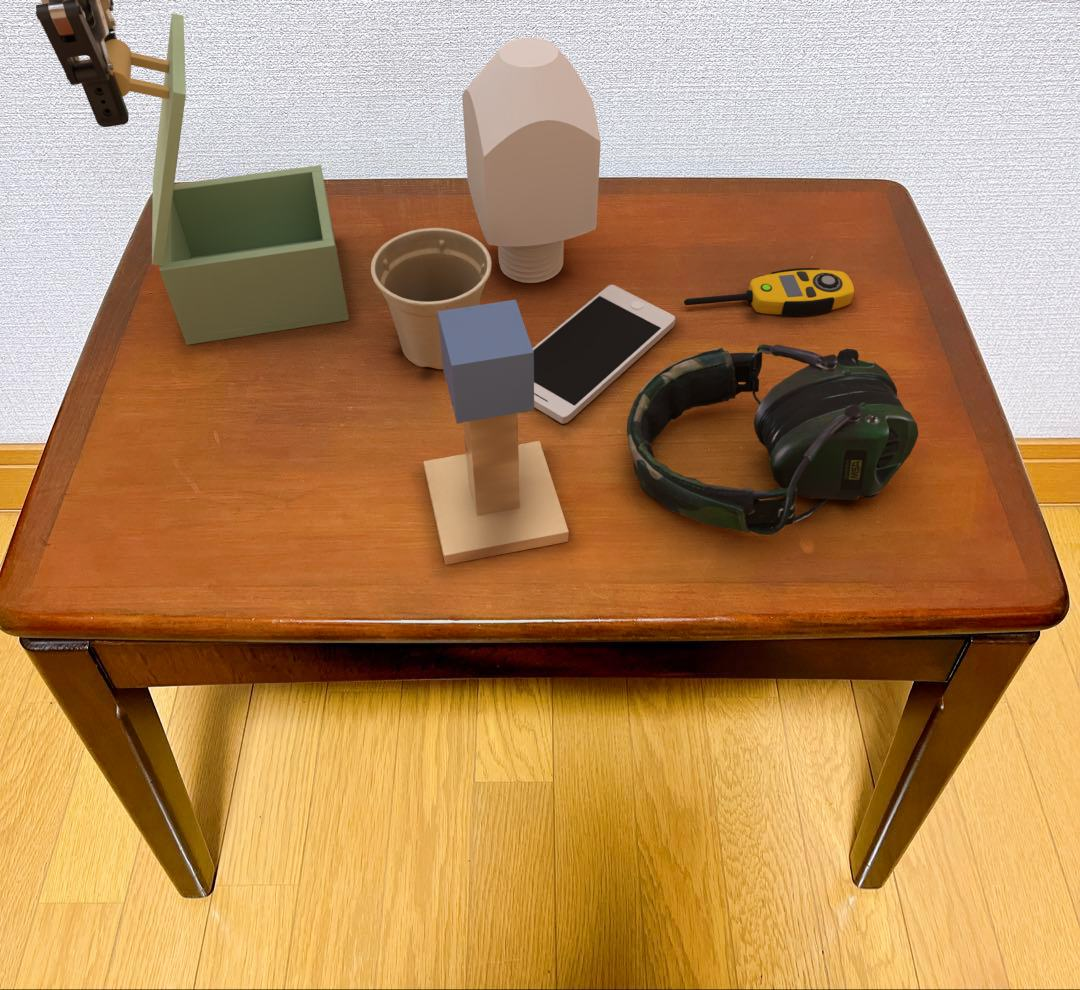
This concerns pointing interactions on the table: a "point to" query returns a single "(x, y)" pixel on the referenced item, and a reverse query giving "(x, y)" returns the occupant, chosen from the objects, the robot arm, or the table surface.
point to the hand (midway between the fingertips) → (115, 102)
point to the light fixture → (531, 156)
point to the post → (494, 494)
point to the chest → (252, 255)
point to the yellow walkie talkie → (793, 292)
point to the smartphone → (594, 350)
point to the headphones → (778, 434)
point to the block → (487, 360)
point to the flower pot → (429, 284)
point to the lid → (169, 119)
